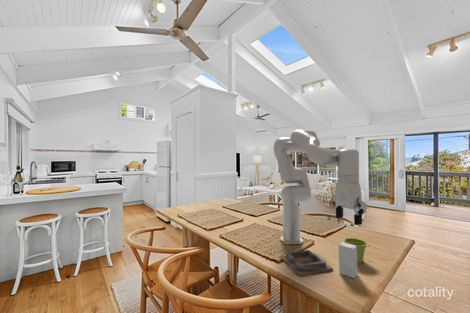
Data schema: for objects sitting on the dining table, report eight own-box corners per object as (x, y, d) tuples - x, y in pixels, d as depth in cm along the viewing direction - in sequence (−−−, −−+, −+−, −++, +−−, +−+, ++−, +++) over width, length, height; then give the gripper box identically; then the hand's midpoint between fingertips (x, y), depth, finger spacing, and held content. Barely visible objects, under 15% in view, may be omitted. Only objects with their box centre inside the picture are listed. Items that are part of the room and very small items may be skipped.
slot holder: (280, 258, 101) (280, 251, 101) (309, 254, 106) (309, 248, 106) (299, 276, 86) (299, 269, 86) (332, 270, 90) (332, 263, 90)
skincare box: (357, 274, 87) (357, 245, 87) (354, 279, 84) (354, 248, 84) (341, 269, 91) (341, 241, 91) (338, 273, 88) (338, 244, 88)
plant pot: (340, 255, 105) (340, 237, 105) (359, 255, 104) (359, 237, 104) (350, 264, 95) (350, 245, 95) (371, 265, 95) (371, 245, 95)
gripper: (326, 177, 95) (326, 215, 95) (358, 182, 78) (358, 228, 78) (340, 177, 97) (339, 214, 97) (374, 181, 80) (374, 226, 80)
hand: (348, 220), depth 87 cm, fingers open, 9 cm apart
